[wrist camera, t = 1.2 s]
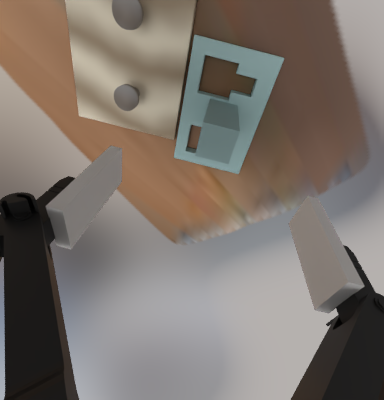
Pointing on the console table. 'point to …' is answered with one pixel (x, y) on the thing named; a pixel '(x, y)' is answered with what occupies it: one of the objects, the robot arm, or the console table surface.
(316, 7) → the console table surface
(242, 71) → the panel
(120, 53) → the boss board
